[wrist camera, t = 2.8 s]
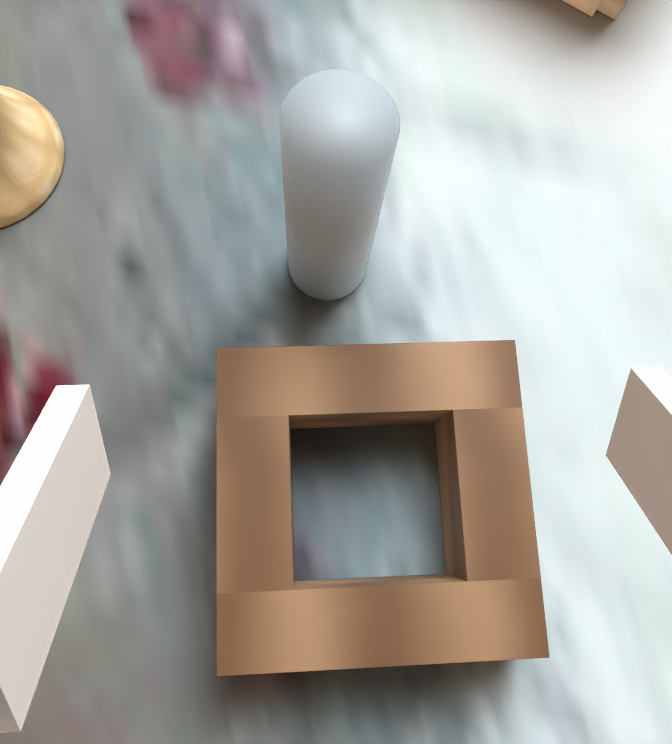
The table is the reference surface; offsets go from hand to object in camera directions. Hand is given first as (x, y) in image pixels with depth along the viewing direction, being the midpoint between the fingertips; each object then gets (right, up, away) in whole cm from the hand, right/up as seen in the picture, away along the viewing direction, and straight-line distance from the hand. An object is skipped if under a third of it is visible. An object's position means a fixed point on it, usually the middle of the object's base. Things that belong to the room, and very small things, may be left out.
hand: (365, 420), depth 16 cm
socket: (+1, -5, +14) cm, 15 cm away
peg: (-1, +7, +17) cm, 18 cm away
